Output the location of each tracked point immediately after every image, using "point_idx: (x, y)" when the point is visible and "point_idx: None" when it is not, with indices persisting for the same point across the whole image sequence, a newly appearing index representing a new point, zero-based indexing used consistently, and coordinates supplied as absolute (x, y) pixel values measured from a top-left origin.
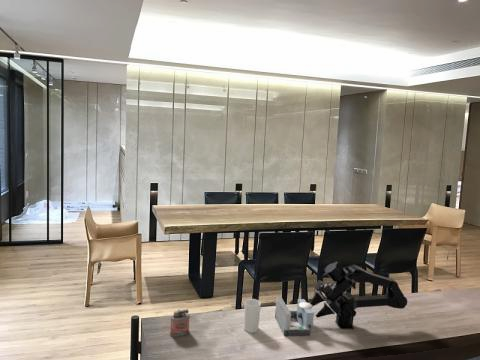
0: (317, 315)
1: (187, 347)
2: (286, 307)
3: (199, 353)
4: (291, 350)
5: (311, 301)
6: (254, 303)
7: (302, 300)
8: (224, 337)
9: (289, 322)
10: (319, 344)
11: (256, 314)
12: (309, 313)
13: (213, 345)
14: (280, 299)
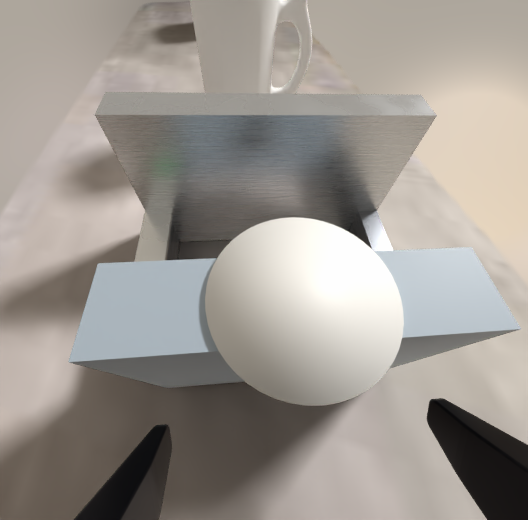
0: (138, 453)
1: (156, 33)
2: (221, 110)
3: (124, 43)
4: (35, 228)
5: (522, 452)
6: (272, 12)
7: (463, 293)
8: (190, 78)
9: (130, 176)
10: (16, 409)
11: (198, 43)
12: (91, 295)
13: (153, 60)
14: (372, 104)
